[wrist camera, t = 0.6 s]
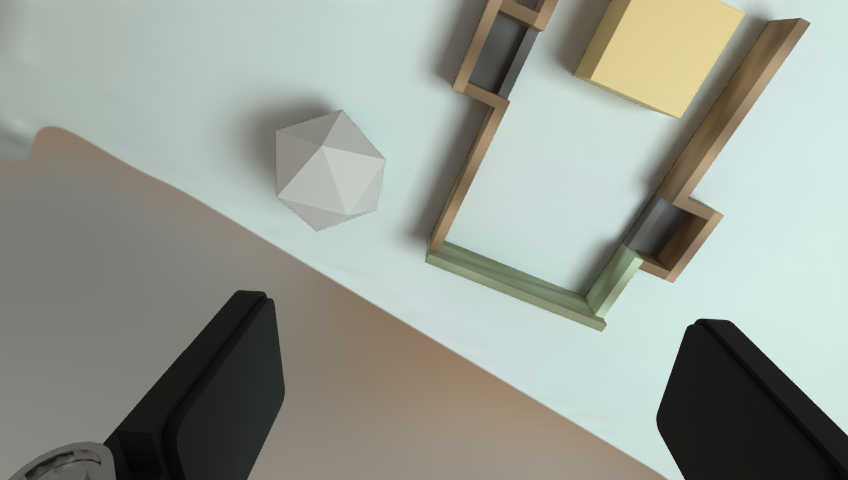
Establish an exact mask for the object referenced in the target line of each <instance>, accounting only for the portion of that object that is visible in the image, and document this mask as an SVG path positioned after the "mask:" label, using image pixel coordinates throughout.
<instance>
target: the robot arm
mask: <svg viewBox="0 0 848 480" xmlns="http://www.w3.org/2000/svg"><path fill="white" fill-rule="evenodd" d="M284 394H285V387H284V379H283V370H282V362H281V354H280V345H279V337H278V329H277V321H276V314H275V305H274V301H273V299H270V298H267V296H266V294H265V293H264V292H261V291H245V290H238V291H237V292H235V293H234V295H233V296H232V297H231V298H230V299H229V300H228V301H227V303H226V304H225V305H224V306H223V307H222V308H221V309H220V311H219V312H218V313H217V314H216V315H215V316H214V318H213V319H212V320H211V321H210V322H209V323H208V325H207V326H206V327H205V328H204V329H203V330H202V331H201V333H200V334H199V335H198V336H197V337H196V338H195V340H194V341H193V342H192V343H191V344H190V345H189V346H188V347H187V349H186V350H185V351H183V353H182V354H181V355H180V356H179V357H178V358H177V359H176V361H175V362H174V363H173V364H172V365H171V366H170V367H169V369H168V370H167V371H166V372H165V373H164V374H163V375H162V377H161V378H160V379H159V380H158V381H157V382H156V384H155V385H154V386H153V387H152V388H151V389H150V390H149V391H148V393H147V394H146V395H145V396H144V397H143V398H142V400H141V401H140V402H139V403H138V404H137V405H136V407H135V408H134V409H133V410H132V411H131V412H130V413H129V414H128V416H127V417H126V418H125V419H124V420H123V421H122V422H121V424H120V425H119V426H118V427H117V428H116V429H115V431H114V432H113V433H112V434H111V435H110V436H109V438H108V439H107V440H106V441H105V442H104V443H103V444H101V443H95V442H89V441H88V442H79V443H72V444H69V445H66V446H62V447H59V448H56V449H54V450H52V451H49V452H47V453H45V454H43V455H41V456H39V457H37V458H36V459H34V460H32V461H31V462H29V463H28V464H26V465H25V466H23V467H22V468H21V469H20V470H18V471H17V472H16V473H15V474H14V475H13V476H12V477H11V478H9V479H8V480H247V479H248V476H249V474H250V472H251V470H252V468H253V466H254V464H255V461H256V459H257V457H258V455H259V453H260V451H261V449H262V446H263V444H264V442H265V440H266V438H267V436H268V434H269V431H270V429H271V427H272V425H273V423H274V421H275V418H276V417H277V414H278V412H279V410H280V408H281V406H282V403H283V400H284ZM656 421H657V427H658V430H659V432H660V434H661V436H662V438H663V440H664V442H665V444H666V445H667V447H668V449H669V451H670V453H671V455H672V456H673V458H674V460H675V462H676V464H677V466H678V468H679V469H680V471H681V473H682V475H683V477H684V479H685V480H848V436H847V435H846V434H845V433H844V432H843V431H842V430H841V429H840V428H839V427H838V426H837V425H836V424H835V423H834V422H833V421H832V420H831V419H830V418H829V417H828V416H827V415H826V414H825V413H824V412H823V411H822V410H821V409H820V408H819V407H818V406H817V405H816V404H815V403H814V402H813V401H812V400H811V399H810V398H809V397H808V396H807V395H806V394H805V393H804V392H803V391H802V390H801V389H800V388H799V387H798V386H797V385H796V384H795V383H793V382H792V381H791V380H790V379H789V378H788V377H787V376H786V375H785V374H784V373H783V372H782V371H781V370H780V369H779V368H778V367H777V366H776V365H775V364H774V363H773V362H772V361H771V360H770V359H769V358H768V357H767V356H766V355H765V354H764V353H763V352H762V351H761V350H760V349H759V348H758V347H757V346H756V345H755V344H754V343H753V342H752V341H751V340H750V339H749V338H748V337H747V336H746V335H745V334H744V333H743V332H742V331H741V330H739V329H738V328H737V327H736V326H735V325H734V324H733V323H732V322H731V321H728V320H718V319H698V320H697V321H696V322H695V323H694V325H693V324H692V325H689V326H688V327H687V329H686V331H685V334H684V337H683V340H682V342H681V345H680V348H679V351H678V354H677V357H676V360H675V363H674V366H673V369H672V372H671V374H670V377H669V380H668V383H667V386H666V389H665V392H664V395H663V398H662V401H661V404H660V406H659V409H658V412H657V417H656Z"/></svg>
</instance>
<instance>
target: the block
mask: <svg viewBox="0 0 848 480" xmlns="http://www.w3.org/2000/svg"><path fill="white" fill-rule="evenodd" d="M745 14H746V13H745V12H743V11H741V10H739V9H737V8H735V7H732V6H730V5H728V4H726V3H724V2H722V1H720V0H611V2H610V4H609V6H608V8H607V10H606V12H605V14H604V16H603V18H602V20H601V22H600V24H599V26H598V28H597V30H596V32H595V34H594V36H593V38H592V40H591V42H590V44H589V46H588V48H587V50H586V52H585V54H584V56H583V58H582V59H581V61H580V63H579V65H578V67H577V69H576V71H575V73H574V75H573V76H575V77H577V78H580V79H582V80H584V81H586V82H589V83H591V84H593V85H596V86H598V87H600V88H602V89H605V90H607V91H609V92H612V93H614V94H616V95H618V96H621V97H623V98H625V99H627V100H630V101H632V102H634V103H637V104H639V105H641V106H643V107H646V108H648V109H650V110H653V111H656V112H659V113H662V114H666V115H669V116H672V117H676V118H679V119H680V118H681V116H682V115H683V113H684V112H685V110H686V108H687V107H688V105H689V104H690V102H691V100H692V99H693V97H694V95H695V94H696V92H697V91H698V89H699V87H700V86H701V84H702V83H703V81H704V79H705V78H706V76H707V75H708V73H709V71H710V70H711V68H712V67H713V65H714V63H715V62H716V60H717V59H718V57H719V55H720V54H721V52H722V51H723V49H724V47H725V46H726V44H727V42H728V41H729V39H730V38H731V36H732V34H733V33H734V31H735V30H736V28H737V26H738V25H739V23H740V22H741V20H742V18H743V17H744V15H745Z"/></svg>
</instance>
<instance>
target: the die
mask: <svg viewBox="0 0 848 480" xmlns="http://www.w3.org/2000/svg"><path fill="white" fill-rule="evenodd" d="M385 162H386V159H385V158H384V157H383V156H382V155H381V153H380V152H379V151H378V150H377V149H376V148H375V147H374V145H373V144H372V143H371V142H370V141H369V140H368V138H367V137H366V136H365V135H364V134H363V133H362V132H361V130H360V129H359V128H358V127H357V126H356V125H355V123H354V122H353V121H352V120H351V119H350V118H349V117H348V115H347V114H346V113H345V112H344V111H343V110H340V111H336V112H333V113H330V114H327V115H324V116H320V117H317V118H314V119H311V120H308V121H304V122H301V123H298V124H295V125H292V126H289V127H285V128H282V129H279V130H276V188H277V198H278V199H279V200H280V201H282V202H283V203H284V204H285V205H286V206H287V207H289V208H290V209H291V210H292V211H293V212H294V213H296V214H297V215H298V216H299V217H300V218H301V219H302V220H304V221H305V222H306V223H307V224H308V225H309V226H311V227H312V228H313V229H314V230H315V231H316V232H317V231H320V230H323V229H326V228H328V227H331V226H334V225H337V224H339V223H342V222H345V221H348V220H350V219H353V218H356V217H359V216H361V215H364V214H367V213H370V212H372V211H375V210H377V204H378V199H379V194H380V188H381V183H382V178H383V172H384V167H385Z"/></svg>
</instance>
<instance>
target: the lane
mask: <svg viewBox="0 0 848 480" xmlns="http://www.w3.org/2000/svg"><path fill="white" fill-rule="evenodd" d="M558 1H559V0H539V1H538V4H537V6H536V8H535V10H534V11H533V10H531V9H529V8H527V7H524V6H522V5H520V4H518V3H516V2H514V1H512V0H488V1H487V4H486V6H485V8H484V11H483V13H482V16H481V18H480V20H479V23H478V25H477V28H476V30H475V32H474V35H473V37H472V40H471V42H470V44H469V47H468V49H467V52H466V54H465V56H464V59H463V61H462V64H461V66H460V68H459V71H458V73H457V76H456V78H455V80H454V83H453V85H452V88H453V89H454V90H457V91H459V92H461V93H463V94H465V95H468V96H470V97H472V98H474V99H477V100H479V101H481V102H483V103H486V104H488V105H490V108H489V110H488V112H487V114H486V116H485V119H484V121H483V123H482V125H481V127H480V129H479V132H478V134H477V136H476V138H475V140H474V143H473V145H472V147H471V149H470V151H469V153H468V156H467V158H466V160H465V162H464V164H463V166H462V169H461V171H460V173H459V175H458V177H457V179H456V182H455V184H454V186H453V188H452V190H451V192H450V195H449V197H448V199H447V201H446V203H445V206H444V208H443V210H442V212H441V214H440V216H439V219H438V221H437V223H436V225H435V227H434V229H433V232H432V234H431V236H430V238H429V240H428V242H427V251H426V260H425V262H426V263H428V264H431V265H433V266H436V267H439V268H441V269H444V270H446V271H449V272H451V273H454V274H456V275H459V276H461V277H464V278H466V279H469V280H471V281H474V282H477V283H479V284H482V285H484V286H487V287H489V288H492V289H494V290H497V291H499V292H502V293H504V294H507V295H509V296H512V297H515V298H517V299H520V300H522V301H525V302H527V303H530V304H532V305H535V306H537V307H540V308H542V309H545V310H547V311H550V312H553V313H555V314H558V315H560V316H563V317H565V318H568V319H570V320H573V321H575V322H578V323H580V324H583V325H585V326H588V327H591V328H593V329H596V330H598V331H601V332H602V331H603V330H604V328H605V327H606V325H607V324H606V323H605V321H604V319H603V318H604V316H605V315H606V313H607V312H608V311H609V309H610V308H611V306H612V305H613V304H614V302H615V301H616V299H617V298H618V296H619V295H620V294H621V292H622V291H623V289H624V288H625V286H626V285H627V284H628V282H629V281H630V279H631V278H632V277H633V275H634V274H635V272H636V271H637V269H641V270H643V271H645V272H648V273H650V274H653V275H655V276H657V277H660V278H662V279H665V280H667V281H669V282H672V283H674V281H675V280H676V279H677V278H678V276H679V275H680V274H681V272H682V271H683V270H684V268H685V267H686V266H687V264H688V263H689V262H690V260H691V259H692V258H693V256H694V255H695V254H696V252H697V251H698V250H699V248H700V247H701V246H702V244H703V243H704V242H705V240H706V239H707V238H708V236H709V235H710V234H711V232H712V231H713V230H714V228H715V227H716V226H717V225H718V223H719V222H720V221H721V219H722V218H723V217H724V215H722V214H721V213H719V212H717V211H716V210H714V209H712V208H711V207H709V206H707V205H706V204H704V203H702V202H700V201H697V200H695V199H693V198H691V197H689V196H690V194H691V193H692V191H693V190H694V188H695V187H696V186H697V184H698V183H699V181H700V180H701V179H702V177H703V176H704V174H705V173H706V171H707V170H708V169H709V167H710V166H711V164H712V163H713V161H714V160H715V159H716V157H717V156H718V154H719V153H720V152H721V150H722V149H723V147H724V146H725V144H726V143H727V142H728V140H729V139H730V137H731V136H732V135H733V133H734V132H735V130H736V129H737V127H738V126H739V125H740V123H741V122H742V120H743V119H744V117H745V116H746V115H747V113H748V112H749V110H750V109H751V108H752V106H753V105H754V103H755V102H756V100H757V99H758V98H759V96H760V95H761V93H762V92H763V90H764V89H765V88H766V86H767V85H768V83H769V82H770V81H771V79H772V78H773V76H774V75H775V73H776V72H777V71H778V69H779V68H780V66H781V65H782V64H783V62H784V61H785V59H786V58H787V56H788V55H789V54H790V52H791V51H792V49H793V48H794V46H795V45H796V44H797V42H798V41H799V39H800V38H801V37H802V35H803V34H804V32H805V31H806V29H807V28H808V27H809V25H810V24H811V23H810V22H808V21H806V20H804V19H802V18H795V19H784V20H774V21H769V23H768V24H767V26H766V27H765V29H764V30H763V32H762V33H761V35H760V36H759V38H758V39H757V41H756V42H755V44H754V45H753V47H752V48H751V50H750V51H749V53H748V54H747V56H746V57H745V59H744V60H743V62H742V63H741V65H740V66H739V68H738V69H737V71H736V72H735V74H734V75H733V77H732V78H731V80H730V81H729V83H728V84H727V86H726V87H725V89H724V90H723V92H722V93H721V95H720V96H719V98H718V99H717V101H716V102H715V104H714V105H713V107H712V108H711V110H710V111H709V113H708V114H707V116H706V117H705V119H704V120H703V122H702V123H701V125H700V126H699V128H698V129H697V131H696V132H695V134H694V135H693V137H692V138H691V140H690V141H689V143H688V144H687V146H686V147H685V149H684V150H683V152H682V153H681V155H680V156H679V158H678V159H677V161H676V162H675V164H674V165H673V167H672V168H671V170H670V171H669V173H668V174H667V176H666V177H665V179H664V180H663V182H662V183H661V185H660V186H659V188H658V189H657V191H656V192H655V194H654V195H653V197H652V198H651V200H650V201H649V203H648V204H647V206H646V207H645V209H644V210H643V212H642V213H641V215H640V216H639V218H638V219H637V221H636V222H635V224H634V225H633V227H632V228H631V230H630V231H629V233H628V234H627V236H626V237H625V239H624V240H623V242H622V243H621V245H620V246H619V248H618V249H617V251H616V252H615V254H614V255H613V257H612V258H611V260H610V261H609V263H608V264H607V266H606V267H605V269H604V270H603V272H602V273H601V275H600V276H599V278H598V279H597V281H596V282H595V284H594V285H593V287H592V288H591V290H590V291H589V293H588V294H587V296H586V297H583V296H580V295H578V294H575V293H573V292H571V291H568V290H566V289H563V288H561V287H558V286H556V285H553V284H551V283H548V282H546V281H543V280H541V279H538V278H536V277H533V276H531V275H528V274H526V273H523V272H521V271H518V270H516V269H513V268H511V267H508V266H506V265H503V264H501V263H499V262H496V261H494V260H491V259H489V258H486V257H484V256H481V255H479V254H476V253H474V252H471V251H469V250H466V249H464V248H461V247H459V246H456V245H454V244H451V243H449V242H446V241H444V240H445V237H446V235H447V233H448V231H449V229H450V227H451V225H452V223H453V221H454V219H455V216H456V214H457V212H458V210H459V208H460V206H461V204H462V202H463V200H464V198H465V196H466V193H467V191H468V189H469V187H470V185H471V183H472V181H473V179H474V177H475V175H476V172H477V170H478V168H479V166H480V164H481V162H482V160H483V158H484V156H485V154H486V151H487V149H488V147H489V145H490V143H491V141H492V139H493V137H494V135H495V133H496V131H497V128H498V126H499V124H500V122H501V120H502V118H503V116H504V114H505V112H506V110H507V107H508V105H509V103H510V101H509V100H508V99H507V98H508V96H509V94H510V92H511V90H512V88H513V86H514V84H515V82H516V79H517V77H518V75H519V73H520V71H521V69H522V67H523V65H524V63H525V60H526V58H527V56H528V54H529V52H530V50H531V48H532V46H533V43H534V41H535V39H536V37H537V35H538V33H539V32H541V31H544V30H545V28H546V26H547V24H548V22H549V19H550V17H551V15H552V13H553V11H554V9H555V7H556V5H557V3H558Z"/></svg>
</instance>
